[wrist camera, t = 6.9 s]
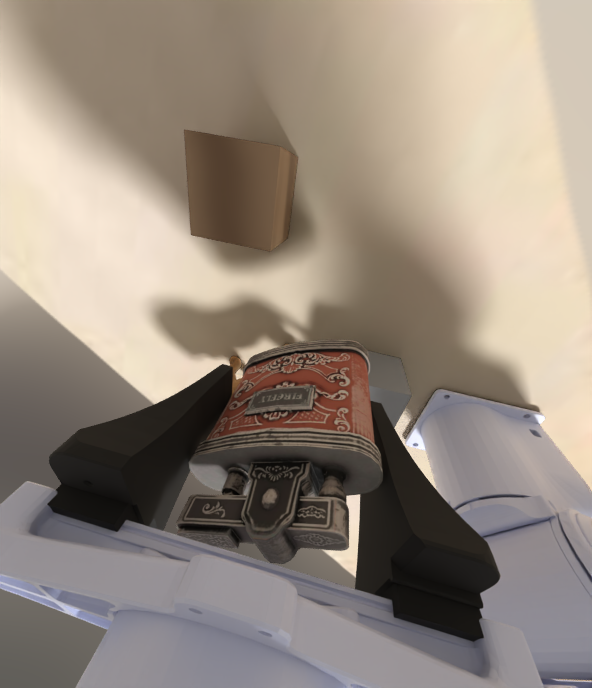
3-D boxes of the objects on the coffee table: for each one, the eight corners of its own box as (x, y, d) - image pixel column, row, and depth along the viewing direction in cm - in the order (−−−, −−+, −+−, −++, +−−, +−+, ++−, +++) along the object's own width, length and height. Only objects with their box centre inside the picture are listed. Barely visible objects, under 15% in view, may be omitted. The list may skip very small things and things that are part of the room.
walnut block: (298, 157, 17) (280, 146, 12) (288, 238, 19) (270, 251, 15) (225, 144, 17) (184, 129, 13) (225, 225, 20) (191, 235, 15)
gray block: (400, 357, 23) (411, 395, 19) (381, 398, 25) (387, 439, 21) (345, 345, 23) (344, 379, 19) (332, 385, 26) (329, 424, 22)
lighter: (364, 331, 14) (385, 529, 6) (373, 378, 16) (399, 588, 8) (239, 352, 17) (129, 516, 8) (257, 391, 18) (179, 562, 10)
